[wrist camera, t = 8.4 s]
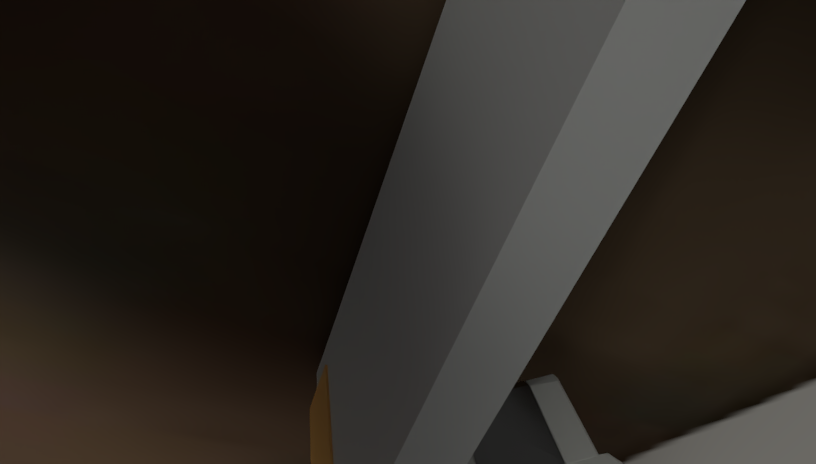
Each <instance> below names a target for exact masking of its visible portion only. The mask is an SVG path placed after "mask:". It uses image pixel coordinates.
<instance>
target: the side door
mask: <svg viewBox="0 0 816 464" xmlns="http://www.w3.org/2000/svg"><path fill="white" fill-rule="evenodd" d="M745 1H746V0H446V2H445V5H444V8H443V11H442V14H441V17H440V19H439V22H438V25H437V28H436V31H435V34H434V37H433V40H432V42H431V45H430V48H429V51H428V54H427V57H426V60H425V63H424V65H423V68H422V71H421V74H420V77H419V80H418V83H417V86H416V88H415V91H414V94H413V97H412V100H411V103H410V106H409V109H408V112H407V114H406V117H405V120H404V123H403V126H402V129H401V132H400V135H399V137H398V140H397V143H396V146H395V149H394V152H393V155H392V158H391V160H390V163H389V166H388V169H387V172H386V175H385V178H384V181H383V183H382V186H381V189H380V192H379V195H378V198H377V201H376V204H375V207H374V209H373V212H372V215H371V218H370V221H369V224H368V227H367V230H366V232H365V235H364V238H363V241H362V244H361V247H360V250H359V253H358V255H357V258H356V261H355V264H354V267H353V270H352V273H351V276H350V278H349V281H348V284H347V287H346V290H345V293H344V296H343V299H342V302H341V304H340V307H339V310H338V313H337V316H336V319H335V322H334V325H333V327H332V330H331V333H330V336H329V339H328V342H327V345H326V348H325V350H324V353H323V356H322V359H321V362H320V365H319V368H318V371H317V389H316V392H315V395H314V398H313V401H312V403H311V406H310V447H311V464H467V463H468V462H469V460H470V458H471V457H472V455H473V453H474V452H475V450H476V448H477V447H478V445H479V443H480V442H481V440H482V438H483V437H484V435H485V433H486V432H487V430H488V428H489V427H490V425H491V423H492V422H493V420H494V418H495V417H496V415H497V413H498V412H499V410H500V408H501V407H502V405H503V403H504V402H505V400H506V398H507V397H508V395H509V393H510V392H511V390H512V388H513V387H514V385H515V383H516V382H517V380H518V378H519V377H520V375H521V373H522V372H523V370H524V368H525V367H526V365H527V364H528V362H529V360H530V359H531V357H532V355H533V354H534V352H535V350H536V349H537V347H538V345H539V344H540V342H541V340H542V339H543V337H544V335H545V334H546V332H547V330H548V329H549V327H550V325H551V324H552V322H553V320H554V319H555V317H556V315H557V314H558V312H559V310H560V309H561V307H562V305H563V304H564V302H565V300H566V299H567V297H568V295H569V294H570V292H571V290H572V289H573V287H574V285H575V284H576V282H577V280H578V279H579V277H580V275H581V274H582V272H583V270H584V269H585V267H586V265H587V264H588V262H589V260H590V259H591V257H592V255H593V254H594V252H595V251H596V249H597V247H598V246H599V244H600V242H601V241H602V239H603V237H604V236H605V234H606V232H607V231H608V229H609V227H610V226H611V224H612V222H613V221H614V219H615V217H616V216H617V214H618V212H619V211H620V209H621V207H622V206H623V204H624V202H625V201H626V199H627V197H628V196H629V194H630V192H631V191H632V189H633V187H634V186H635V184H636V182H637V181H638V179H639V177H640V176H641V174H642V172H643V171H644V169H645V167H646V166H647V164H648V162H649V161H650V159H651V157H652V156H653V154H654V152H655V151H656V149H657V147H658V146H659V144H660V142H661V141H662V139H663V137H664V136H665V134H666V133H667V131H668V129H669V128H670V126H671V124H672V123H673V121H674V119H675V118H676V116H677V114H678V113H679V111H680V109H681V108H682V106H683V104H684V103H685V101H686V99H687V98H688V96H689V94H690V93H691V91H692V89H693V88H694V86H695V84H696V83H697V81H698V79H699V78H700V76H701V74H702V73H703V71H704V69H705V68H706V66H707V64H708V63H709V61H710V59H711V58H712V56H713V54H714V53H715V51H716V49H717V48H718V46H719V44H720V43H721V41H722V39H723V38H724V36H725V34H726V33H727V31H728V29H729V28H730V26H731V24H732V23H733V21H734V20H735V18H736V16H737V15H738V13H739V11H740V10H741V8H742V6H743V5H744V3H745Z"/></svg>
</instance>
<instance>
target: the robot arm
mask: <svg viewBox="0 0 816 464" xmlns="http://www.w3.org/2000/svg"><path fill="white" fill-rule="evenodd" d="M467 464H624V463H622V462H621V461H619V460H618V459H616V458H615V457H613V456H612V455H610V454H609V453H604V454H598V452H597V450H596V448H595V446H594V444H593V443H592V441H591V439H590V437H589V435H588V433H587V431H586V430H585V428H584V426H583V424H582V422H581V420H580V418H579V417H578V415H577V413H576V411H575V409H574V407H573V405H572V403H571V402H570V400H569V398H568V396H567V394H566V392H565V390H564V389H563V387H562V385H561V383H560V381H559V379H558V378H557V377H556V376H555V375H554V374H550V375H546V376H542V377H539V378H535V379H531V380H527V381H520V382H516V383H515V385H514V387H513V388H512V390H511V392H510V393H509V395H508V397H507V398H506V400H505V402H504V403H503V405H502V407H501V408H500V410H499V412H498V413H497V415H496V417H495V418H494V420H493V422H492V423H491V425H490V427H489V428H488V430H487V432H486V433H485V435H484V437H483V438H482V440H481V442H480V443H479V445H478V447H477V448H476V450H475V452H474V453H473V455H472V457H471V458H470V460H469V462H468V463H467Z"/></svg>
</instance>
